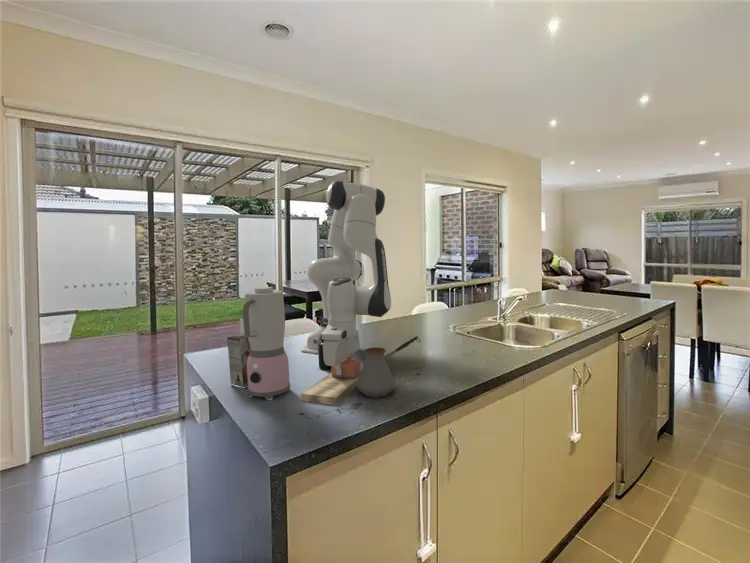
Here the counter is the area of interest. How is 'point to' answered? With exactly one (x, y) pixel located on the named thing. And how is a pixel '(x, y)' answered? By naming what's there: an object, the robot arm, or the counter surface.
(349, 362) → the block
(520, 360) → the counter surface
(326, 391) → the maple board
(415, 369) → the counter surface
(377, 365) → the coffee pot
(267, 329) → the blender
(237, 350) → the coffee box
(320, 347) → the supplement bottle
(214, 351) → the counter surface
